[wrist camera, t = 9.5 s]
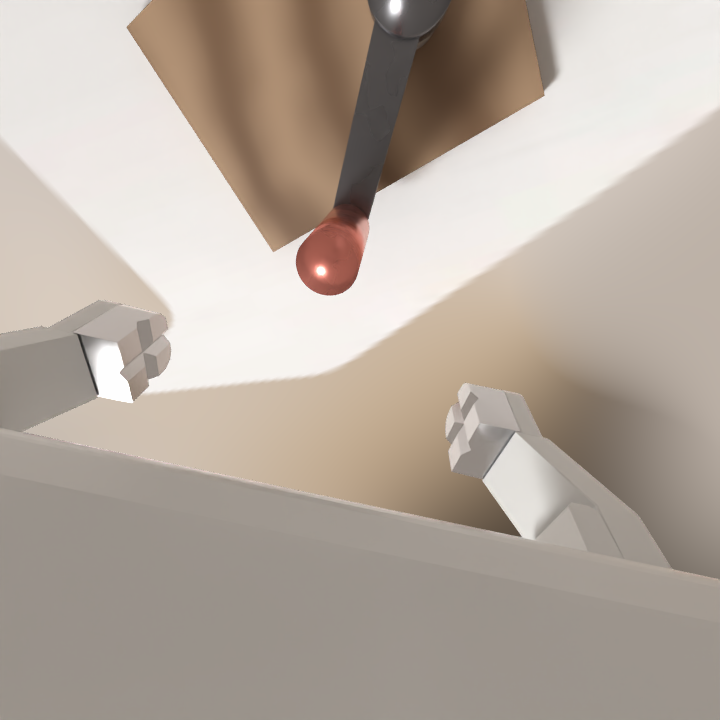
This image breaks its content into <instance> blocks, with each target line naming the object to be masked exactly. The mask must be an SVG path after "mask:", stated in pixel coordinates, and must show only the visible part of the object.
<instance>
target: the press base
mask: <svg viewBox="0 0 720 720" xmlns="http://www.w3.org/2000/svg"><path fill="white" fill-rule="evenodd" d="M373 26H374V21H373V19H372V17H371V14H370V10H369V6H368V1H367V0H152V1H151V2H150V3H149V4H148V5H147V6H146V7H145V8H144V9H143V11H142V12H141V13H140V14H139V15H138V16H137V17H136V18H135V19H134V20H133V21H132V22H131V23H130V24H129V25H128V26H127V29H128V30H129V32H130V33H131V35H132V36H133V38H134V40H135V41H136V43H137V44H138V46H139V47H140V49H141V50H142V52H143V53H144V55H145V56H146V58H147V59H148V61H149V62H150V64H151V66H152V67H153V69H154V70H155V72H156V73H157V75H158V76H159V78H160V79H161V81H162V82H163V84H164V85H165V87H166V89H167V90H168V92H169V93H170V95H171V96H172V98H173V99H174V101H175V102H176V104H177V105H178V107H179V108H180V110H181V111H182V113H183V115H184V116H185V118H186V119H187V121H188V122H189V124H190V125H191V127H192V128H193V130H194V131H195V133H196V134H197V136H198V138H199V139H200V141H201V142H202V144H203V145H204V147H205V148H206V150H207V151H208V153H209V154H210V156H211V157H212V159H213V160H214V162H215V164H216V165H217V167H218V168H219V170H220V171H221V173H222V174H223V176H224V177H225V179H226V180H227V182H228V183H229V185H230V186H231V188H232V190H233V191H234V193H235V194H236V196H237V197H238V199H239V200H240V202H241V203H242V205H243V206H244V208H245V209H246V211H247V213H248V214H249V216H250V217H251V219H252V220H253V222H254V223H255V225H256V226H257V228H258V229H259V231H260V232H261V234H262V235H263V237H264V239H265V240H266V242H267V243H268V245H269V246H270V248H271V249H272V251H273V252H274V251H276V250H278V249H280V248H281V247H283V246H285V245H287V244H288V243H290V242H292V241H293V240H295V239H297V238H299V237H300V236H302V235H304V234H306V233H307V232H309V231H311V230H313V229H314V228H316V227H317V226H318V225H319V224H320V223H321V222H322V220H323V219H324V218H325V217H326V216H327V215H328V213H329V212H330V211H331V210H332V209H333V206H334V202H335V197H336V193H337V188H338V184H339V179H340V175H341V170H342V166H343V161H344V157H345V152H346V148H347V143H348V139H349V134H350V130H351V125H352V121H353V116H354V112H355V107H356V103H357V98H358V94H359V89H360V85H361V80H362V76H363V71H364V67H365V62H366V58H367V53H368V49H369V44H370V40H371V35H372V31H373ZM543 96H545V95H544V90H543V85H542V80H541V76H540V71H539V66H538V61H537V56H536V51H535V46H534V41H533V36H532V31H531V26H530V21H529V16H528V11H527V6H526V1H525V0H451V2H450V4H449V7H448V9H447V11H446V14H445V16H444V18H443V19H442V21H441V23H440V24H439V26H438V27H437V28H436V30H435V31H434V32H433V33H432V34H431V35H430V36H429V37H427V38H426V39H425V40H423V41H421V42H419V43H418V45H417V49H416V53H415V56H414V60H413V63H412V67H411V70H410V74H409V77H408V81H407V84H406V88H405V91H404V95H403V99H402V102H401V106H400V109H399V113H398V116H397V120H396V123H395V127H394V130H393V134H392V137H391V141H390V144H389V148H388V152H387V155H386V159H385V162H384V166H383V169H382V173H381V176H380V180H379V183H378V187H377V190H376V193H377V192H378V191H380V190H382V189H384V188H385V187H387V186H389V185H391V184H392V183H394V182H396V181H397V180H399V179H401V178H403V177H404V176H406V175H408V174H410V173H411V172H413V171H415V170H417V169H418V168H420V167H422V166H424V165H425V164H427V163H429V162H430V161H432V160H434V159H436V158H437V157H439V156H441V155H443V154H444V153H446V152H448V151H450V150H451V149H453V148H455V147H456V146H458V145H460V144H462V143H463V142H465V141H467V140H469V139H470V138H472V137H474V136H476V135H477V134H479V133H481V132H482V131H484V130H486V129H488V128H489V127H491V126H493V125H495V124H496V123H498V122H500V121H502V120H503V119H505V118H507V117H508V116H510V115H512V114H514V113H515V112H517V111H519V110H521V109H522V108H524V107H526V106H528V105H529V104H531V103H533V102H534V101H536V100H538V99H540V98H541V97H543Z"/></svg>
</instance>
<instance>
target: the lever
mask: <svg viewBox="0 0 720 720" xmlns="http://www.w3.org/2000/svg"><path fill="white" fill-rule="evenodd" d="M367 1H368V6H369V10H370V14H371V17H372V19H373V21H374V26H373V31H372V35H371V40H370V44H369V49H368V53H367V58H366V62H365V67H364V71H363V76H362V80H361V85H360V89H359V94H358V98H357V103H356V107H355V112H354V116H353V121H352V125H351V130H350V134H349V139H348V143H347V148H346V152H345V157H344V161H343V166H342V170H341V175H340V179H339V184H338V188H337V193H336V197H335V202H334V206H333V209H332V210H331V211H330V212H329V213H328V215H327V216H326V217H325V218H324V219H323V220H322V222H321V223H320V224H319V225H318V226H317V227H316V228H315V230H314V231H313V232H312V233H311V234H310V235H309V236H308V238H307V239H306V240H305V241H304V242H303V243H302V245H301V246H300V248H299V250H298V252H297V256H296V267H297V271H298V274H299V276H300V278H301V280H302V281H303V282H304V284H305V285H306V286H307V287H308V288H310V289H311V290H313V291H314V292H316V293H319V294H322V295H337V294H340V293H343V292H344V291H346V290H347V289H349V288H350V287H351V286H352V284H353V283H354V281H355V280H356V277H357V274H358V270H359V267H360V263H361V260H362V256H363V252H364V249H365V245H366V241H367V238H368V234H369V222H368V219H369V215H370V212H371V208H372V205H373V201H374V197H375V194H376V190H377V187H378V183H379V180H380V176H381V173H382V169H383V166H384V162H385V159H386V155H387V152H388V148H389V144H390V141H391V137H392V134H393V130H394V127H395V123H396V120H397V116H398V113H399V109H400V106H401V102H402V99H403V95H404V91H405V88H406V84H407V81H408V77H409V74H410V70H411V67H412V63H413V60H414V56H415V53H416V49H417V45H418V43H419V42H421V41H423V40H425V39H426V38H427V37H429V36H430V35H431V34H432V33H433V32H434V31H435V30H436V28H437V27H438V26H439V24H440V23H441V21H442V19H443V18H444V16H445V14H446V11H447V9H448V7H449V4H450V2H451V0H367Z"/></svg>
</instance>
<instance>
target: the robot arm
mask: <svg viewBox="0 0 720 720" xmlns="http://www.w3.org/2000/svg"><path fill="white" fill-rule="evenodd" d="M167 330H168V327H167V321H166V318H165V317H164V316H163V315H162V314H160V313H156V312H152V311H148V310H144V309H140V308H136V307H131V306H127V305H123V304H120V303H115V302H110V301H106V300H98V301H96V302H94V303H93V304H91V305H89V306H87V307H85V308H84V309H82V310H80V311H78V312H76V313H74V314H72V315H71V316H69V317H67V318H65V319H63V320H61V321H60V322H58V323H56V324H54V325H52V326H50V327H49V328H47V327H42V326H41V327H36V328H30V329H24V330H19V331H13V332H8V333H2V334H0V720H720V579H715V578H710V577H706V576H701V575H696V574H691V573H686V572H682V571H677V570H673V569H672V568H671V567H670V565H669V563H668V562H667V560H666V559H665V557H664V555H663V554H662V552H661V551H660V549H659V547H658V546H657V544H656V543H655V541H654V539H653V538H652V536H651V535H650V533H649V531H648V530H647V528H646V526H645V525H644V523H643V522H642V520H641V519H640V517H639V515H637V514H636V513H635V512H634V511H633V510H631V509H630V508H629V507H628V506H627V505H626V504H624V503H623V502H622V501H621V500H620V499H619V498H617V497H616V496H615V495H614V494H612V493H611V492H610V491H609V490H608V489H607V488H606V487H604V486H603V485H602V484H601V483H600V482H599V481H597V480H596V479H595V478H594V477H593V476H591V475H590V474H589V473H588V472H587V471H586V470H584V469H583V468H582V467H581V466H580V465H578V464H577V463H576V462H575V461H574V460H572V459H571V458H570V457H569V456H568V455H567V454H566V453H564V452H563V451H562V450H560V449H559V447H557V446H556V445H555V444H554V443H553V442H551V441H550V440H549V439H547V438H543V437H542V436H541V434H540V431H539V429H538V427H537V425H536V423H535V421H534V419H533V417H532V415H531V412H530V410H529V408H528V406H527V404H526V402H525V400H524V398H523V396H522V395H521V394H519V393H513V392H509V391H503V390H497V389H492V388H487V387H482V386H478V385H473V384H468V383H464V384H463V385H462V387H461V388H460V390H459V392H458V398H459V402H458V403H456V404H454V405H452V406H451V409H450V411H449V413H448V416H447V420H446V430H445V432H446V438H447V440H448V441H449V442H450V443H451V447H450V449H449V451H448V453H449V459H450V464H451V471H452V472H455V473H459V474H464V475H467V476H472V477H476V478H480V479H483V482H484V484H485V485H486V486H487V488H488V489H489V491H490V492H491V493H492V495H493V496H494V498H495V499H496V500H497V502H498V503H499V505H500V506H501V508H502V509H503V510H504V512H505V513H506V514H507V516H508V517H509V519H510V520H511V522H512V523H513V524H514V526H515V527H516V529H517V530H518V531H519V533H520V534H521V536H522V537H523V538H521V537H517V536H512V535H507V534H502V533H498V532H493V531H488V530H483V529H479V528H474V527H469V526H464V525H460V524H455V523H450V522H445V521H441V520H436V519H431V518H427V517H421V516H417V515H412V514H407V513H403V512H398V511H393V510H389V509H384V508H379V507H375V506H370V505H365V504H360V503H356V502H351V501H346V500H341V499H337V498H332V497H328V496H322V495H318V494H313V493H309V492H304V491H299V490H294V489H289V488H285V487H280V486H275V485H271V484H266V483H261V482H257V481H251V480H247V479H242V478H238V477H233V476H228V475H223V474H218V473H214V472H209V471H204V470H200V469H195V468H190V467H186V466H181V465H176V464H171V463H166V462H161V461H157V460H152V459H148V458H143V457H138V456H133V455H129V454H124V453H119V452H115V451H110V450H105V449H100V448H95V447H91V446H86V445H81V444H77V443H72V442H67V441H63V440H58V439H53V438H48V437H44V436H39V435H34V434H29V433H24V432H22V431H25V430H27V429H29V428H31V427H34V426H36V425H38V424H40V423H42V422H45V421H47V420H49V419H51V418H54V417H56V416H58V415H60V414H62V413H65V412H67V411H69V410H71V409H74V408H76V407H78V406H80V405H82V404H85V403H87V402H89V401H91V400H94V399H96V398H97V397H98V396H101V397H106V398H111V399H117V400H122V401H128V402H133V401H134V400H135V399H136V398H137V397H138V396H139V395H140V394H141V393H142V392H143V391H144V390H145V389H146V388H147V387H148V386H149V382H148V379H151V378H154V377H156V376H159V375H160V374H161V373H162V372H163V371H164V370H165V369H166V367H167V365H168V363H169V360H170V355H171V347H170V342H169V341H168V340H167V339H166V337H165V336H164V335H163V334H164V333H165V332H166V331H167Z"/></svg>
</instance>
